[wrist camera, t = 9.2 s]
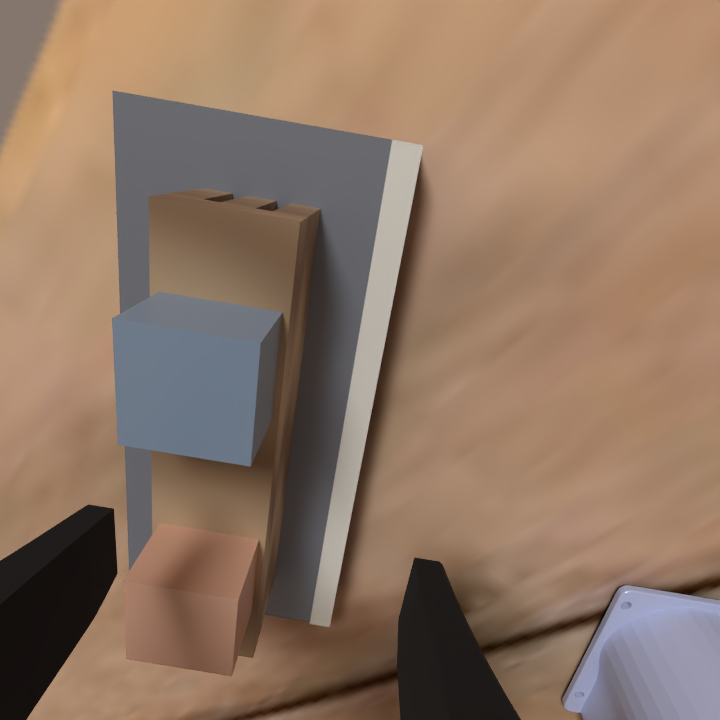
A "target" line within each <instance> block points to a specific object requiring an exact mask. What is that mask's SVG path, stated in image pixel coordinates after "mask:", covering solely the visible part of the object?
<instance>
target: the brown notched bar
mask: <svg viewBox="0 0 720 720" xmlns="http://www.w3.org/2000/svg"><path fill="white" fill-rule="evenodd" d="M232 195H233V193H228V192H222V191H216V190H211V189H205V188H202V189H195V190H188V191H181V192H174V193H167V194H160V195H154V196H149V278H150V297H151V296H152V295H154V294H156V293H158V292H165V293H171V294H177V295H183V296H189V297H195V298H201V299H207V300H213V301H219V302H225V303H231V304H237V305H243V306H249V307H255V308H261V309H267V310H273V311H278V312H282V322H281V332H280V343H279V353H278V363H277V373H276V383H275V394H274V404H273V414H272V420H271V423H270V425H269V427H268V429H267V431H266V434H265V436H264V438H263V440H262V442H261V445H260V447H259V449H258V451H257V453H256V456H255V458H254V460H253V462H252V464H251V467H250V466H244V465H238V464H232V463H225V462H219V461H213V460H207V459H201V458H195V457H189V456H183V455H177V454H171V453H165V452H159V451H153V450H151V464H152V534H153V533H154V531H155V530H156V528H157V526H158V525H159V523H162V524H168V525H174V526H180V527H186V528H192V529H198V530H204V531H210V532H216V533H222V534H228V535H234V536H240V537H246V538H252V539H258V540H259V544H258V554H257V564H256V574H255V584H254V594H253V604H252V612H251V615H250V618H249V621H248V625H247V628H246V631H245V634H244V638H243V641H242V644H241V648H240V651H239V654H238V656H244V657H250V658H253V656H254V652H255V649H256V645H257V641H258V638H259V634H260V630H261V627H262V623H263V619H264V616H265V612H266V608H267V605H268V601H269V597H270V594H271V590H272V586H273V583H274V579H275V573H276V565H277V557H278V549H279V540H280V532H281V524H282V516H283V508H284V500H285V492H286V483H287V475H288V467H289V459H290V451H291V443H292V435H293V426H294V418H295V410H296V402H297V394H298V386H299V378H300V369H301V361H302V353H303V345H304V337H305V329H306V321H307V312H308V304H309V296H310V288H311V280H312V272H313V264H314V255H315V247H316V239H317V231H318V223H319V215H320V208H315V207H309V206H303V205H297V204H289V205H286V206H284V207H282V208H279V209H277V210H276V201H274V200H268V199H263V198H257V197H251V196H245V197H240V198H236V199H232Z"/></svg>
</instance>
